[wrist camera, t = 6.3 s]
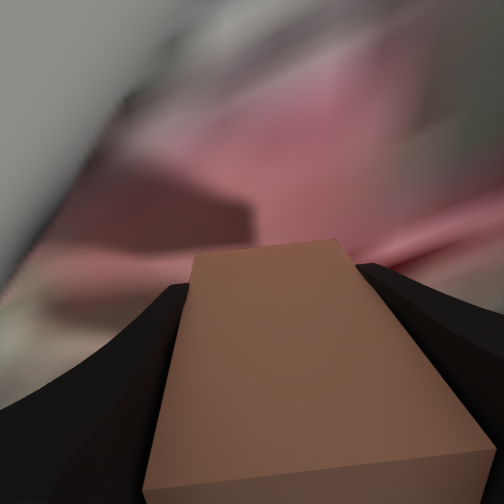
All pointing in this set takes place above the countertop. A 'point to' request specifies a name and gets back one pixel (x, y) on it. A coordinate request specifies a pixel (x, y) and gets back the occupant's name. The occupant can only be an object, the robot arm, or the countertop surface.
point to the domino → (305, 393)
